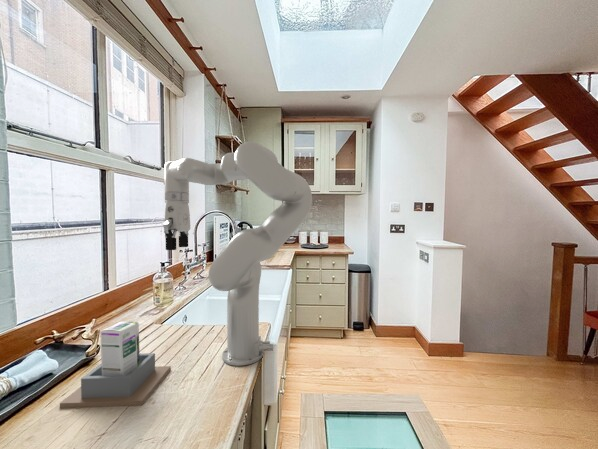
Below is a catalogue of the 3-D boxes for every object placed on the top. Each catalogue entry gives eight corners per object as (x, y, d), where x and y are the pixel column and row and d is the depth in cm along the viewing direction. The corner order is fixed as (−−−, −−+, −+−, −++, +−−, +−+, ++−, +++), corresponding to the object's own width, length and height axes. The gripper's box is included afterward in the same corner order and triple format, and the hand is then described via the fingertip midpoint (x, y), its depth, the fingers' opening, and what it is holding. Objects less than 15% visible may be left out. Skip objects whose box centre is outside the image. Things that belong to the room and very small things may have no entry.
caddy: (170, 369, 72) (170, 350, 72) (142, 405, 58) (141, 381, 58) (104, 371, 72) (104, 351, 72) (59, 407, 58) (59, 383, 58)
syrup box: (122, 391, 62) (121, 330, 61) (100, 389, 63) (100, 329, 62) (140, 377, 67) (139, 321, 67) (120, 375, 68) (119, 320, 68)
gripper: (177, 196, 80) (177, 251, 80) (197, 200, 97) (197, 246, 98) (152, 196, 80) (153, 251, 80) (176, 200, 97) (177, 246, 97)
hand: (177, 248), depth 89 cm, fingers open, 9 cm apart
